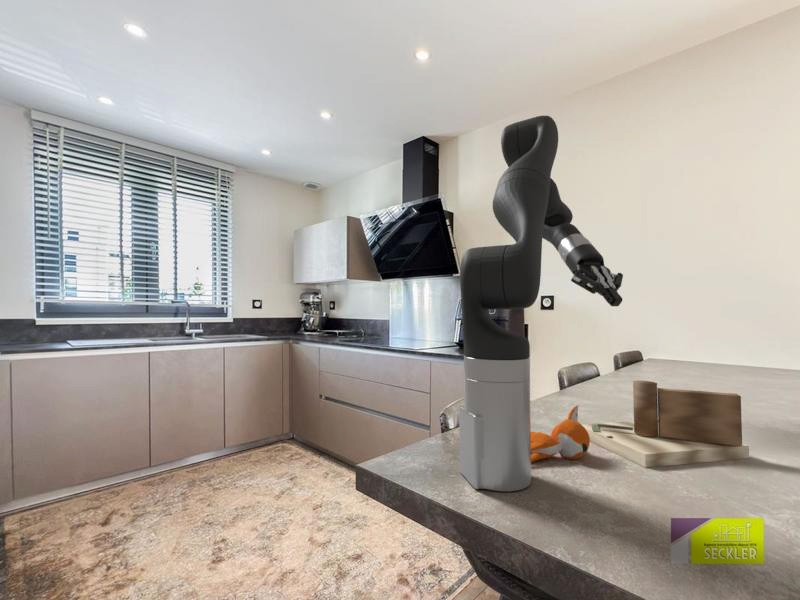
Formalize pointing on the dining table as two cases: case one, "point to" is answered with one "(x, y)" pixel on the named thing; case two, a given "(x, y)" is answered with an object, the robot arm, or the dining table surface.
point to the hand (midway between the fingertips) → (617, 303)
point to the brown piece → (686, 414)
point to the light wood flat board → (660, 447)
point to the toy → (561, 440)
